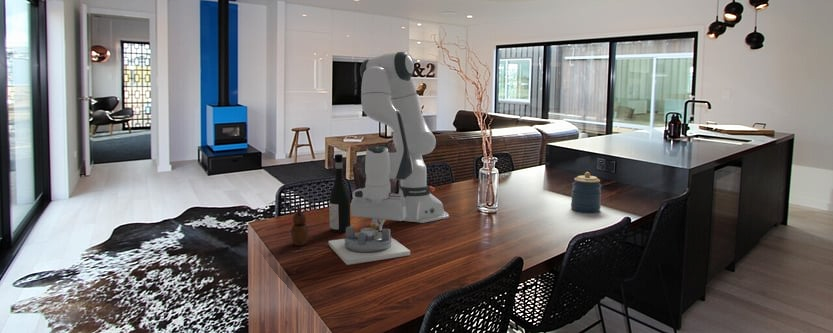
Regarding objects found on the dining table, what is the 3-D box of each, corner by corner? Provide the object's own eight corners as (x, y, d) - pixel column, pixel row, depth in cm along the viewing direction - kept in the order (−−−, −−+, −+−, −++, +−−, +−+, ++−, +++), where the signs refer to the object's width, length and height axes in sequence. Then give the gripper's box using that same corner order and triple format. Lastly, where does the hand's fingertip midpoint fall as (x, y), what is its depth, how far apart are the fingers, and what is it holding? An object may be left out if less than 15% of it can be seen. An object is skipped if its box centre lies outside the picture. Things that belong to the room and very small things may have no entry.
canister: (569, 211, 224) (571, 173, 222) (571, 205, 236) (573, 168, 233) (599, 214, 220) (602, 175, 217) (600, 207, 231) (603, 170, 229)
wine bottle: (333, 234, 189) (331, 156, 184) (327, 229, 196) (325, 154, 191) (353, 231, 193) (352, 155, 188) (346, 226, 200) (345, 152, 195)
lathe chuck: (377, 235, 182) (377, 219, 181) (399, 247, 168) (399, 230, 167) (337, 242, 173) (336, 226, 172) (357, 255, 160) (356, 238, 159)
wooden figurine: (293, 241, 180) (292, 201, 178) (309, 241, 181) (308, 201, 178) (290, 247, 173) (288, 205, 171) (307, 247, 174) (305, 205, 172)
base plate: (386, 237, 186) (386, 233, 185) (410, 255, 166) (410, 250, 166) (328, 244, 176) (328, 240, 176) (347, 264, 157) (346, 260, 156)
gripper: (408, 192, 173) (409, 230, 175) (356, 188, 180) (357, 225, 182) (402, 196, 167) (402, 235, 170) (348, 192, 174) (349, 230, 176)
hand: (378, 230), depth 176 cm, fingers closed
